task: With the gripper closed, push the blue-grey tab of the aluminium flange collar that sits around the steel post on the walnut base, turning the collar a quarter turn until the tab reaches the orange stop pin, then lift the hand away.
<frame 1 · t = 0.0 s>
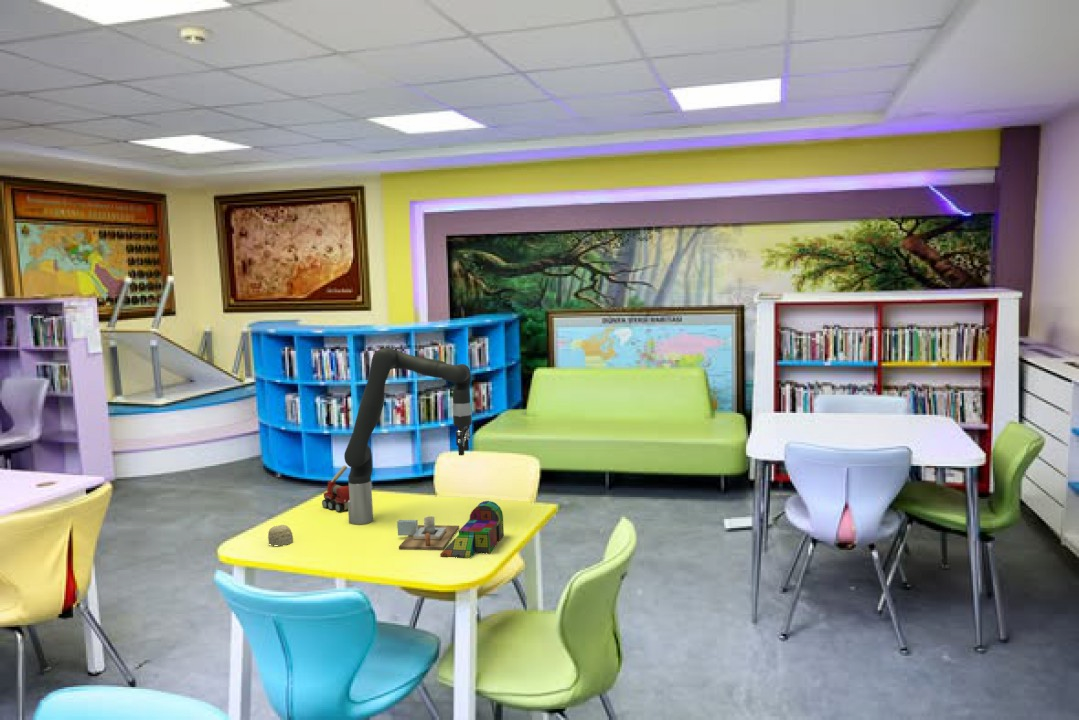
hand: (463, 452, 318), 29 cm above the table, tool pointing down, fingers open, 8 cm apart
flange plate: (420, 527, 303), point 4 cm above the table, hinge at 0.0°
toy fire truck: (341, 507, 350), on the table
brown rock: (280, 543, 304), on the table
toy block train: (473, 547, 293), on the table
flange base: (430, 538, 303), on the table
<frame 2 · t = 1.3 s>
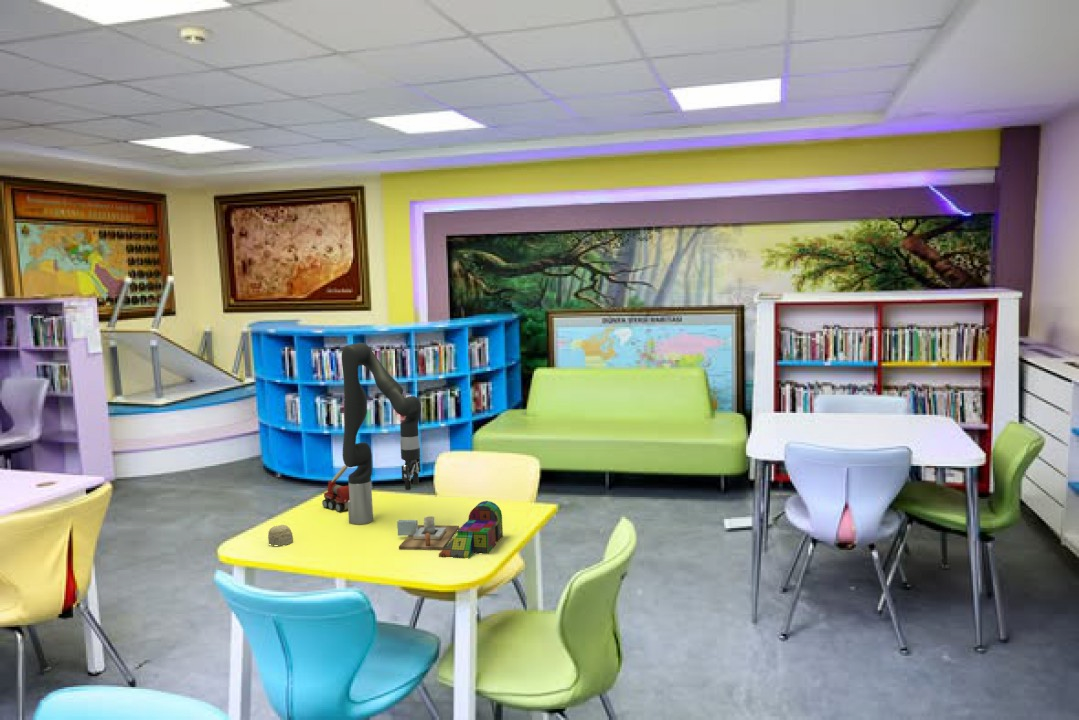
hand: (412, 486, 312), 18 cm above the table, tool pointing down, fingers open, 8 cm apart
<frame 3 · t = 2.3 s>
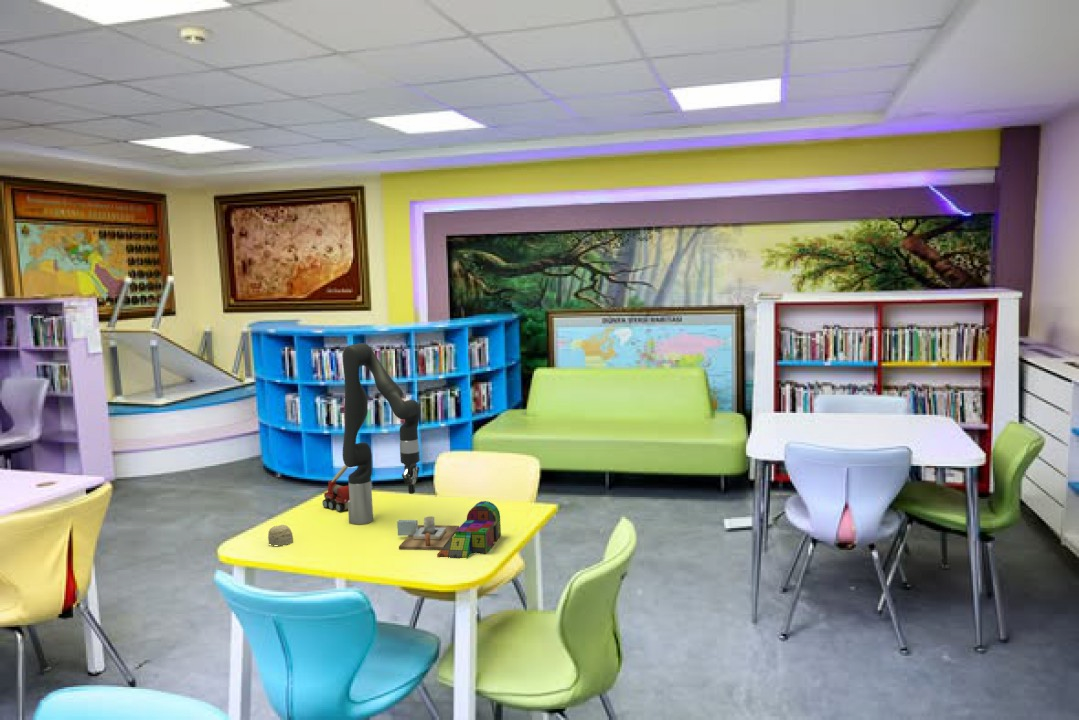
hand: (411, 493, 312), 16 cm above the table, tool pointing down, fingers closed
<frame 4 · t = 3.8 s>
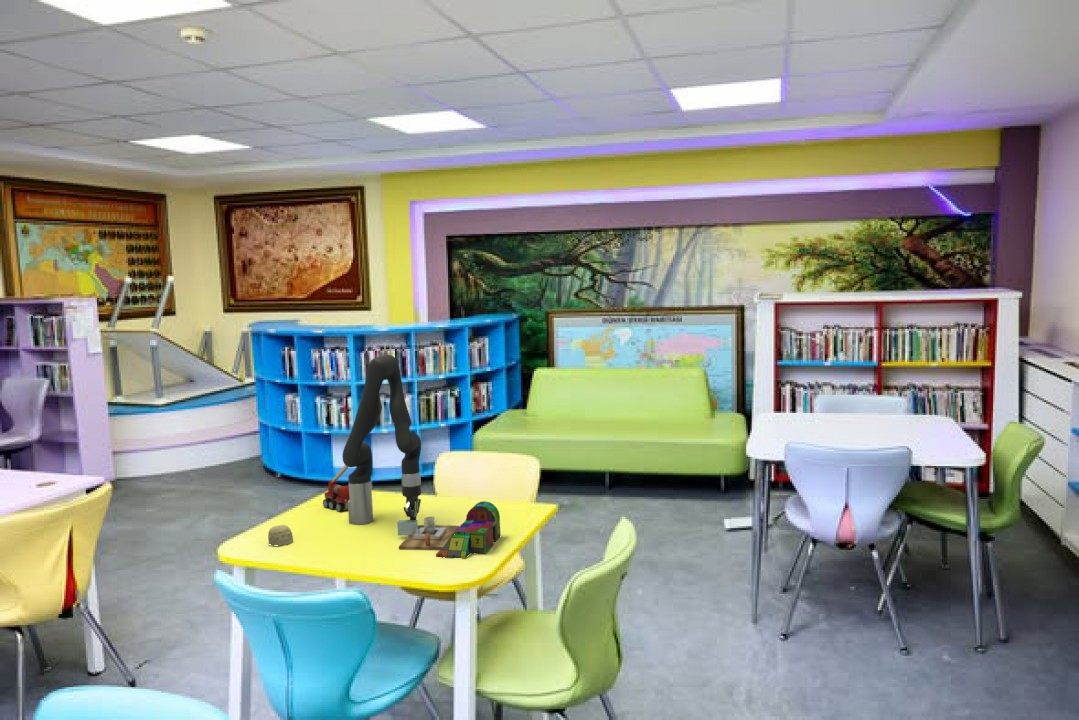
hand: (413, 525, 313), 2 cm above the table, tool pointing down, fingers closed
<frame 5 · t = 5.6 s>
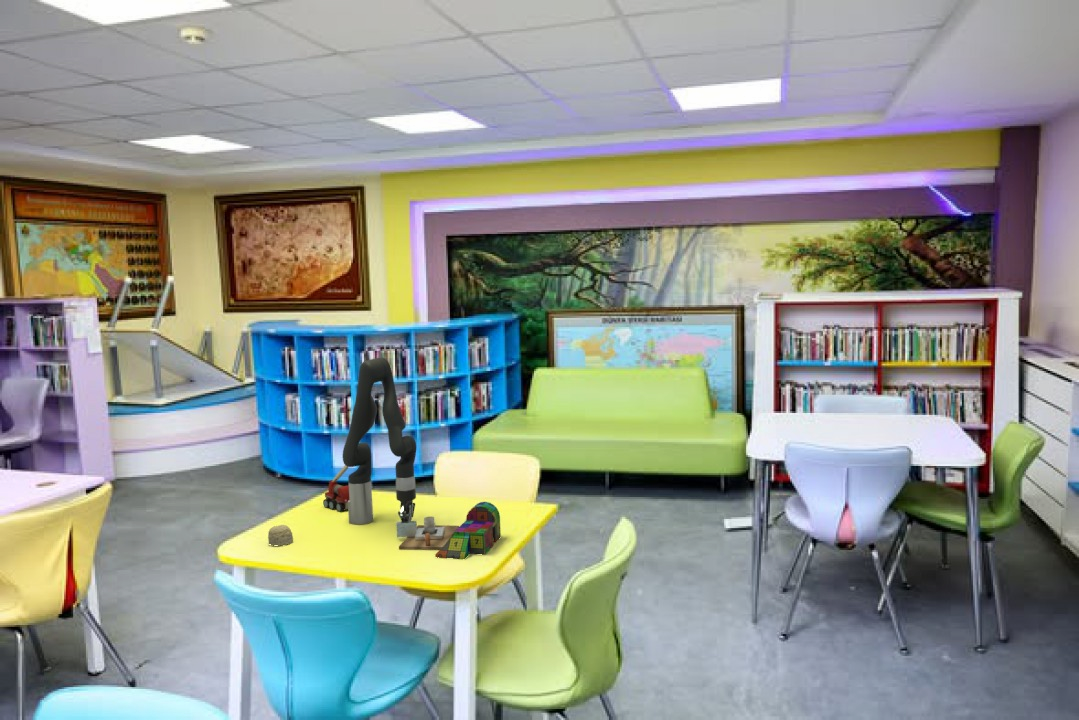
hand: (408, 530, 307), 2 cm above the table, tool pointing down, fingers closed
flange plate: (420, 528, 303), point 4 cm above the table, hinge at 10.1°, touching hand
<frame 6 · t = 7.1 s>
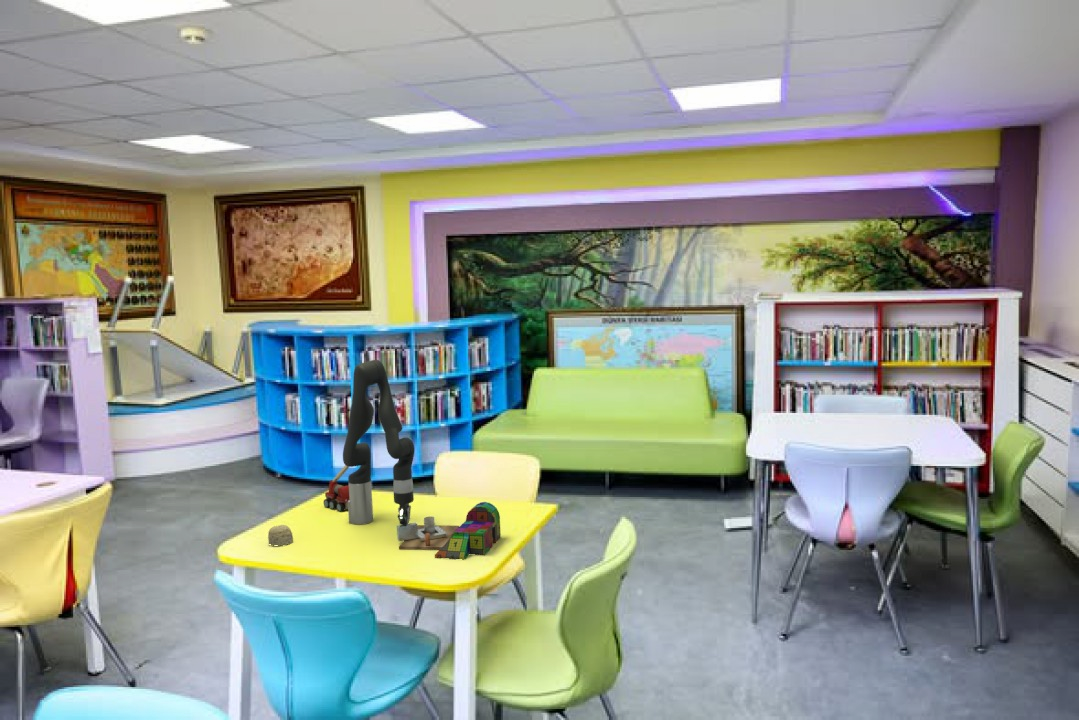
hand: (405, 533, 303), 2 cm above the table, tool pointing down, fingers closed
flange plate: (420, 529, 301), point 4 cm above the table, hinge at 33.4°, touching hand
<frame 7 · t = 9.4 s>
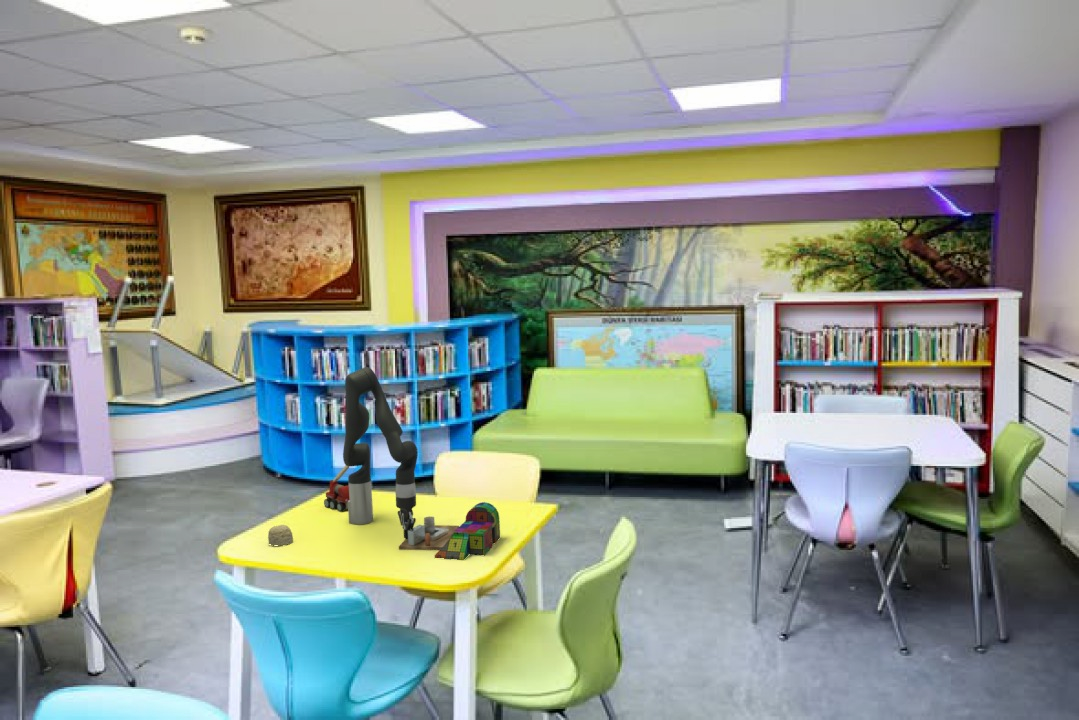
hand: (407, 538, 297), 2 cm above the table, tool pointing down, fingers closed
flange plate: (424, 530, 299), point 4 cm above the table, hinge at 72.0°, touching hand
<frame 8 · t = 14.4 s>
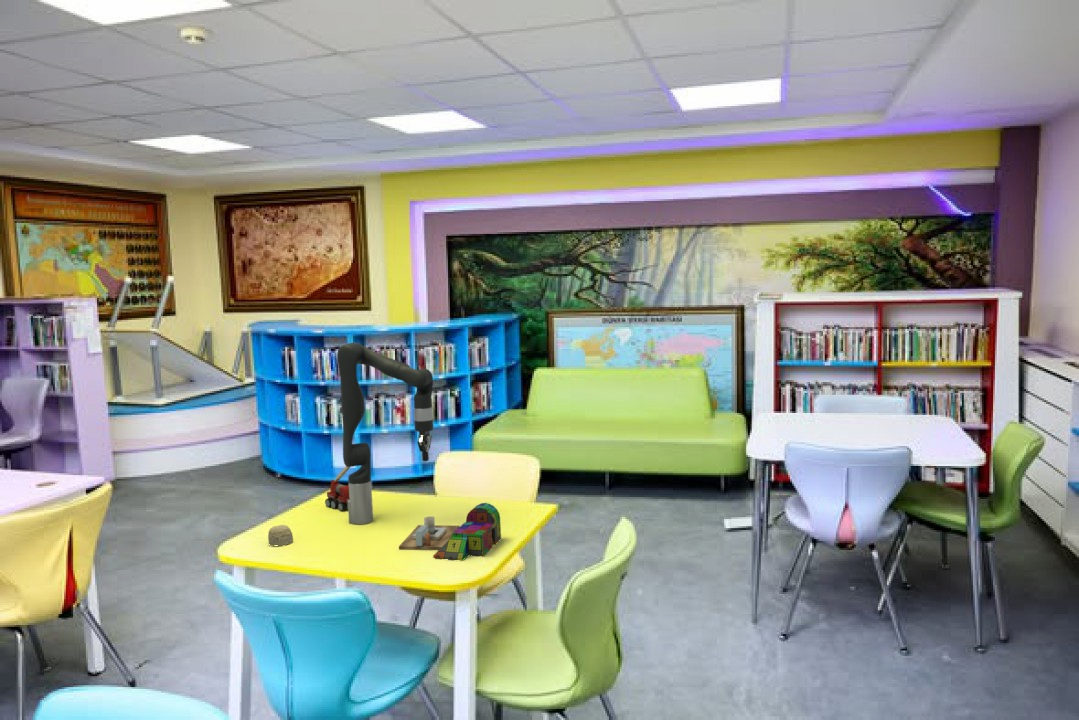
hand: (425, 460, 317), 27 cm above the table, tool pointing down, fingers closed
flange plate: (426, 531, 299), point 4 cm above the table, hinge at 87.1°
at the end: flange plate at +87° (first picture: +0°) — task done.
